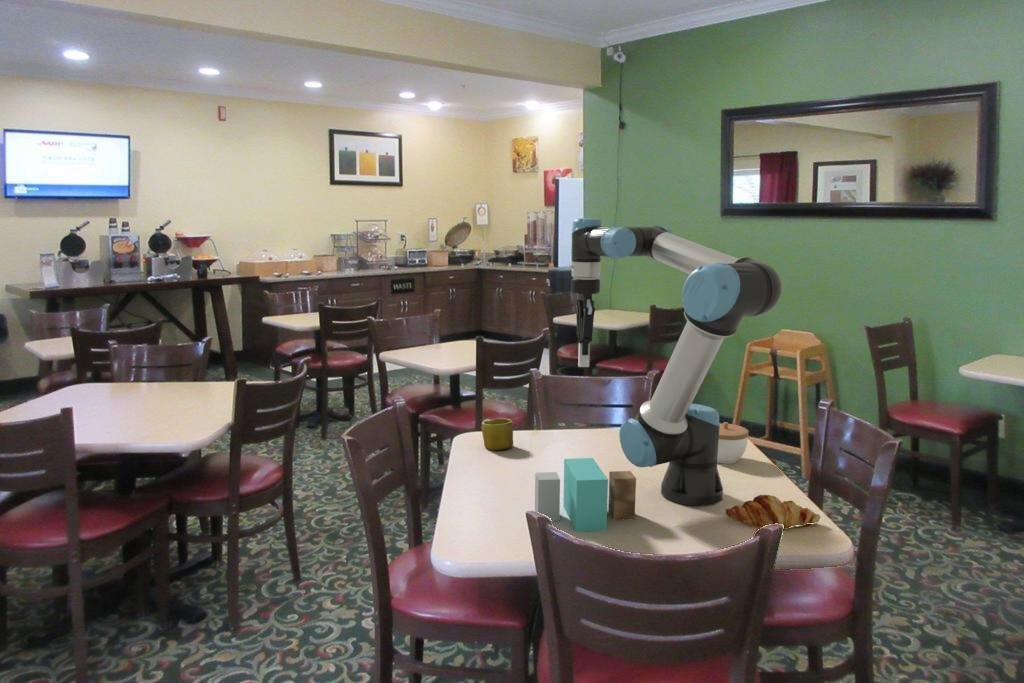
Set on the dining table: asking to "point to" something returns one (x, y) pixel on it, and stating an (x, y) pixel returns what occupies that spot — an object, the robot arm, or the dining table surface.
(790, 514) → the croissant
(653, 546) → the dining table surface
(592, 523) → the teal block
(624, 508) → the walnut block
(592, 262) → the robot arm
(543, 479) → the grey block
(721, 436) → the lidded bowl
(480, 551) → the dining table surface
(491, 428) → the mug
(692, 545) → the dining table surface
